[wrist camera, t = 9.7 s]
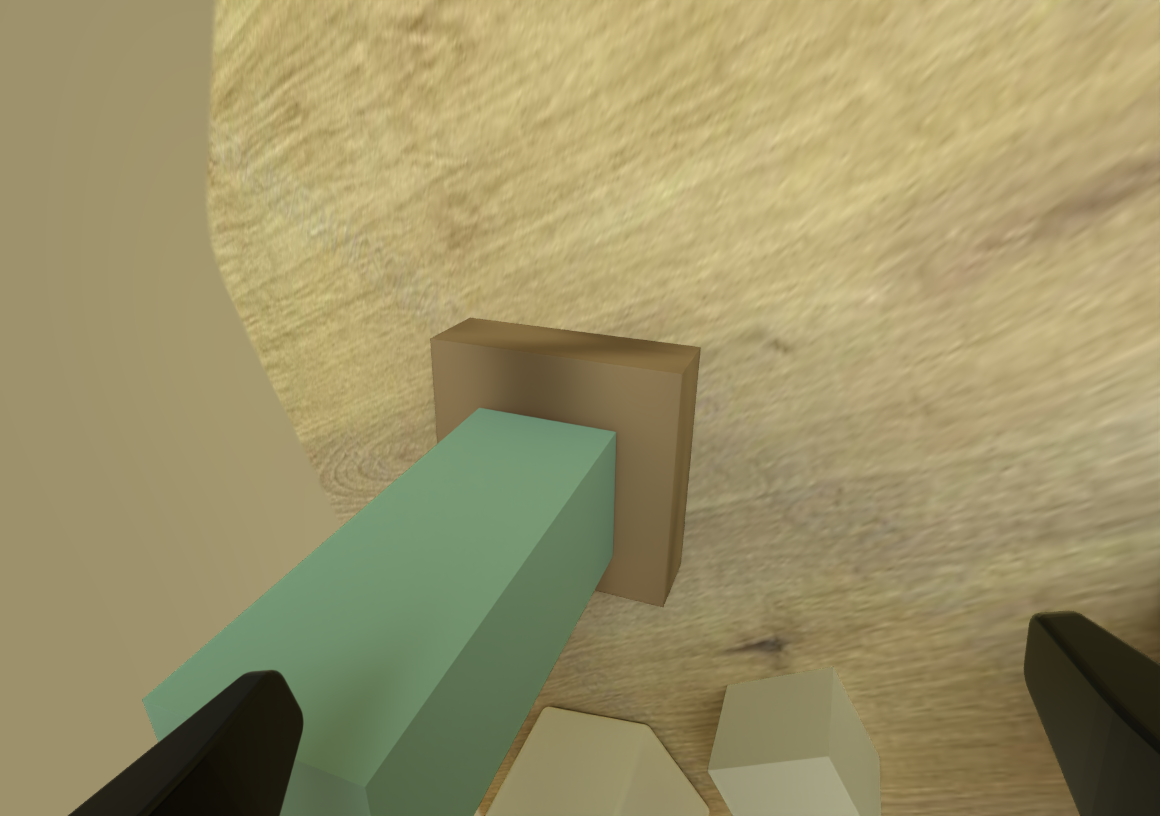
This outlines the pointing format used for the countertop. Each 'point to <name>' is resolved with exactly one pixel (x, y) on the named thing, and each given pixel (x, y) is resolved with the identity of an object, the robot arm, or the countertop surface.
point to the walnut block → (591, 423)
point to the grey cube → (794, 749)
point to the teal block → (425, 620)
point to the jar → (594, 771)
